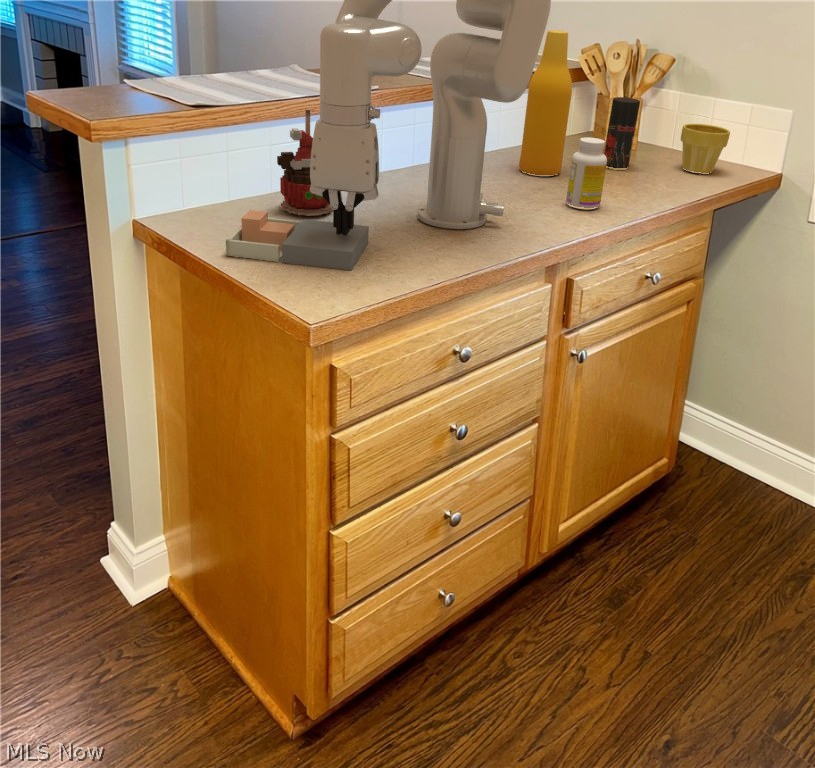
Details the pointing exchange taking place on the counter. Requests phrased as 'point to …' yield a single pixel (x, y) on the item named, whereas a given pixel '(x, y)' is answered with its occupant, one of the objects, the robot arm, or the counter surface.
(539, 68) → the beer bottle
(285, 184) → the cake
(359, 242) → the slate board
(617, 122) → the deodorant
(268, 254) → the sage bin
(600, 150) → the supplement bottle
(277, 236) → the tile
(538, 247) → the counter surface
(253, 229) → the tile
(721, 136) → the plant pot
